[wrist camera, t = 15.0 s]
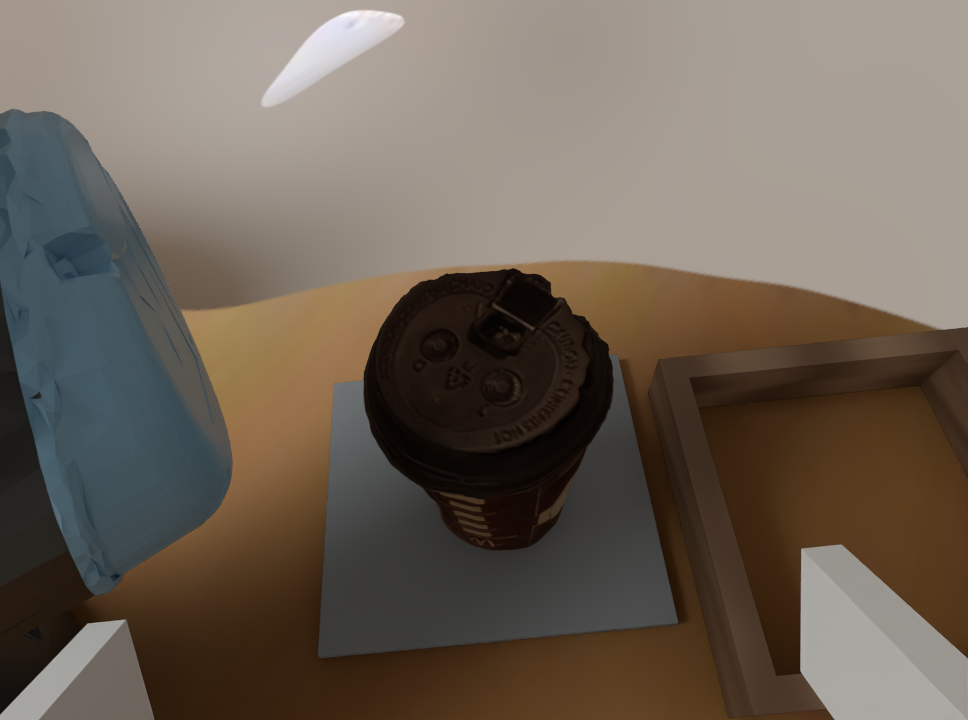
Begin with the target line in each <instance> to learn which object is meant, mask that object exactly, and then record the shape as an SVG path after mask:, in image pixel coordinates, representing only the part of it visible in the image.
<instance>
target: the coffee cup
mask: <svg viewBox="0 0 968 720" xmlns="http://www.w3.org/2000/svg"><path fill="white" fill-rule="evenodd" d="M608 351H609V348H608V344H607V343H606V342H604V341H603V340H602V339H600V338H599V335H598V333H597V332H596V331H595V330H594V329H593V328H592V327H591V326H590V324H589V321H586V318H585V317H583V316H577V315H573V314H572V311H571V309H570V307H569V306H568V304H567V302H566V300H565V299H564V298H561V297H559V298H555V297H553V296H552V295H551V283H550V282H549V281H547V280H546V279H545V278H544V277H542V276H541V275H538V274H524V273H522V272H520V271H519V270H517V269H514V268H513V269H509V270H506V269H503V270H499V271H489V272H476V273H455V274H447V273H446V274H445V275H444V276H441V277H439V278H438V279H436V280H427V281H422V282H420V283H419V284H417V285H416V286H414V287H413V288H411V289H410V291H409V292H408V293H407V294H406V295H404V296H403V297H402V298H401V299H400V300H399V302H398V303H397V304H396V305H395V306H394V308H393V310H392V311H391V313H390V314H389V316H388V317H387V319H386V320H385V322H384V323H383V325H382V327H381V328H380V331H379V333H378V336H377V339H376V340H375V342H374V344H373V346H372V349H371V352H370V354H369V358H368V361H367V364H366V368H365V371H364V388H363V397H364V406H365V412H366V415H367V418H368V420H369V425H370V430H371V433H372V435H373V437H374V438H375V440H376V442H377V444H378V446H379V447H380V449H381V450H382V452H383V453H384V455H385V456H386V458H387V460H388V461H389V463H390V464H391V465H392V466H393V467H394V468H396V469H397V470H398V471H399V472H400V473H402V474H403V475H404V476H405V477H407V478H408V479H409V480H411V481H412V482H414V483H416V484H417V485H419V486H420V487H422V488H423V489H424V491H425V492H426V494H427V495H428V496H429V497H430V498H432V499H433V500H434V501H435V502H436V505H437V507H438V509H439V511H440V514H441V519H442V521H443V523H444V524H445V525H446V526H447V528H448V529H449V530H450V531H451V532H452V533H453V534H455V535H456V536H457V537H459V538H460V539H462V540H463V541H465V542H467V543H469V544H471V545H473V546H476V547H479V548H483V549H487V550H491V551H514V550H519V549H524V548H528V547H530V546H532V545H534V544H535V543H537V542H538V541H539V540H540V539H541V538H542V537H544V535H545V534H546V533H547V532H548V531H549V530H550V529H551V528H552V527H553V526H554V525H555V524H556V522H557V520H558V518H559V516H560V513H561V511H562V507H563V503H564V501H565V499H566V497H567V494H568V491H569V488H570V486H571V483H572V480H573V477H574V475H575V473H576V472H577V470H578V468H579V466H580V464H581V462H582V460H583V457H584V454H585V452H586V449H587V447H588V445H589V444H590V443H591V442H592V441H593V439H594V437H595V435H596V434H597V433H598V431H599V430H600V428H601V425H602V424H603V422H604V421H605V420H606V417H607V413H608V411H609V409H611V403H612V396H613V383H614V378H613V373H612V372H613V366H612V361H611V359H610V357H609V353H608Z"/></svg>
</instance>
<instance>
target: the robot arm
mask: <svg viewBox="0 0 968 720" xmlns="http://www.w3.org/2000/svg"><path fill="white" fill-rule="evenodd" d="M232 464H233V462H232V452H231V445H230V440H229V436H228V432H227V428H226V424H225V421H224V418H223V414H222V411H221V408H220V405H219V402H218V400H217V397H216V394H215V392H214V389H213V386H212V384H211V381H210V379H209V376H208V374H207V371H206V369H205V366H204V364H203V361H202V359H201V356H200V354H199V351H198V349H197V346H196V344H195V342H194V340H193V337H192V335H191V333H190V330H189V328H188V326H187V323H186V321H185V319H184V317H183V315H182V312H181V310H180V308H179V306H178V304H177V302H176V300H175V297H174V295H173V293H172V291H171V289H170V287H169V285H168V283H167V280H166V278H165V276H164V274H163V272H162V270H161V268H160V266H159V264H158V262H157V260H156V258H155V256H154V255H153V252H152V250H151V249H150V246H149V244H148V243H147V241H146V239H145V236H144V235H143V233H142V231H141V229H140V227H139V225H138V223H137V222H136V220H135V218H134V216H133V214H132V212H131V211H130V209H129V207H128V205H127V203H126V202H125V200H124V198H123V196H122V194H121V193H120V191H119V189H118V188H117V186H116V184H115V183H114V181H113V180H112V178H111V176H110V175H109V173H108V172H107V171H106V170H105V169H104V168H103V167H102V166H101V164H100V162H99V161H98V159H97V158H96V156H95V155H94V153H93V152H92V150H91V148H90V145H89V143H88V141H87V140H86V139H85V137H84V136H83V135H82V133H80V131H79V130H78V129H77V128H76V127H75V126H74V125H73V124H72V123H71V122H69V121H68V120H66V119H64V118H63V117H61V116H60V115H58V114H55V113H53V112H46V111H42V112H32V113H25V112H23V111H20V110H16V109H11V110H9V111H6V112H4V113H1V114H0V720H154V716H153V713H152V709H151V705H150V702H149V698H148V695H147V691H146V688H145V684H144V681H143V677H142V673H141V670H140V666H139V663H138V659H137V656H136V652H135V649H134V645H133V641H132V638H131V634H130V631H129V627H128V624H127V620H116V621H107V622H97V623H88V624H87V625H86V626H85V627H84V628H83V629H82V630H81V631H80V632H79V630H78V627H77V625H76V623H75V620H74V618H73V617H72V615H71V613H70V611H69V609H71V608H72V607H74V606H76V605H78V604H80V603H81V602H83V601H85V600H87V599H89V598H90V597H92V596H94V595H99V594H103V595H104V594H106V593H108V592H110V591H111V590H113V589H114V588H115V587H116V586H117V585H118V584H119V583H120V582H121V580H122V578H123V575H124V573H126V572H128V571H129V570H131V569H132V568H134V567H136V566H137V565H139V564H140V563H142V562H144V561H145V560H147V559H148V558H150V557H152V556H153V555H155V554H156V553H158V552H160V551H161V550H163V549H164V548H166V547H168V546H169V545H171V544H172V543H174V542H176V541H177V540H179V539H180V538H182V537H184V536H185V535H187V534H188V533H190V532H192V531H193V530H195V529H196V528H198V527H200V526H201V525H202V524H203V523H204V522H205V521H206V520H207V519H208V518H209V517H210V516H212V515H213V514H214V513H215V511H216V510H217V509H218V508H219V506H220V505H221V503H222V501H223V499H224V497H225V495H226V493H227V491H228V488H229V485H230V481H231V477H232ZM800 671H801V673H802V674H803V676H804V677H805V679H806V680H807V681H808V683H809V684H810V686H811V687H812V688H813V690H814V691H815V693H816V694H817V696H818V697H819V698H820V700H821V701H822V703H823V704H824V705H825V707H826V708H827V710H828V711H829V713H830V714H831V715H832V717H833V718H834V720H968V658H966V657H965V656H964V655H963V654H962V653H961V652H960V651H959V650H958V649H956V648H955V647H954V646H953V645H952V644H951V643H950V642H949V641H948V640H947V639H945V638H944V637H943V636H942V635H941V634H940V633H939V632H938V631H937V630H935V629H934V628H933V627H932V626H931V625H930V624H929V623H928V622H927V621H926V620H924V619H923V618H922V617H921V616H920V615H919V614H918V613H917V612H916V611H915V610H913V609H912V608H911V607H910V606H909V605H908V604H907V603H906V602H905V601H903V600H902V599H901V598H900V597H899V596H898V595H897V594H896V593H895V592H894V591H892V590H891V589H890V588H889V587H888V586H887V585H886V584H885V583H884V582H882V581H881V580H880V579H879V578H878V577H877V576H876V575H875V574H874V573H873V572H871V571H870V570H869V569H868V568H867V567H866V566H865V565H864V564H863V563H861V562H860V561H859V560H858V559H857V558H856V557H855V556H854V555H853V554H852V553H850V552H849V551H848V550H847V549H846V548H845V547H844V546H843V545H842V544H841V545H831V546H822V547H812V548H803V549H801V655H800Z"/></svg>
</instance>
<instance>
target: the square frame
mask: <svg viewBox="0 0 968 720" xmlns="http://www.w3.org/2000/svg"><path fill="white" fill-rule="evenodd" d="M917 385H920V386H921V388H922V390H923V392H924V394H925V395H926V397H927V399H928V401H929V403H930V405H931V407H932V409H933V411H934V413H935V415H936V417H937V419H938V421H939V422H940V424H941V426H942V428H943V430H944V432H945V434H946V436H947V438H948V440H949V442H950V444H951V446H952V448H953V449H954V451H955V453H956V455H957V457H958V459H959V461H960V463H961V465H962V467H963V469H964V471H965V473H966V475H967V476H968V327H967V328H958V329H947V330H938V331H928V332H918V333H909V334H899V335H889V336H880V337H870V338H860V339H851V340H841V341H831V342H822V343H812V344H802V345H793V346H783V347H774V348H764V349H754V350H745V351H735V352H725V353H716V354H706V355H696V356H687V357H677V358H667V359H659V360H658V363H657V367H656V370H655V373H654V376H653V379H652V382H651V385H650V388H649V391H648V395H649V399H650V403H651V407H652V411H653V415H654V419H655V423H656V427H657V431H658V435H659V439H660V443H661V447H662V451H663V455H664V459H665V463H666V467H667V471H668V476H669V480H670V484H671V488H672V492H673V496H674V500H675V504H676V508H677V512H678V516H679V520H680V524H681V528H682V532H683V536H684V540H685V544H686V548H687V552H688V556H689V560H690V564H691V568H692V572H693V576H694V580H695V584H696V588H697V592H698V596H699V600H700V604H701V609H702V613H703V617H704V621H705V625H706V629H707V633H708V637H709V641H710V645H711V649H712V653H713V657H714V661H715V665H716V669H717V673H718V677H719V681H720V685H721V689H722V693H723V697H724V701H725V705H726V709H727V713H728V717H729V718H733V717H744V716H755V715H766V714H777V713H789V712H800V711H811V710H822V709H827V708H826V707H825V705H824V704H823V703H822V701H821V700H820V698H819V697H818V696H817V694H816V693H815V691H814V690H813V688H812V687H811V686H810V684H809V683H808V681H807V680H806V679H805V677H804V676H803V674H792V675H781V676H776V673H775V670H774V666H773V663H772V659H771V656H770V653H769V649H768V646H767V642H766V639H765V635H764V632H763V629H762V625H761V622H760V618H759V615H758V612H757V608H756V605H755V601H754V598H753V594H752V591H751V588H750V584H749V581H748V577H747V574H746V571H745V567H744V564H743V560H742V557H741V553H740V550H739V547H738V543H737V540H736V536H735V533H734V530H733V526H732V523H731V519H730V516H729V512H728V509H727V506H726V502H725V499H724V495H723V492H722V489H721V485H720V482H719V478H718V475H717V472H716V468H715V465H714V461H713V458H712V454H711V451H710V448H709V444H708V441H707V437H706V434H705V431H704V427H703V424H702V420H701V417H700V413H699V410H698V408H700V407H710V406H720V405H730V404H740V403H750V402H759V401H769V400H779V399H789V398H799V397H809V396H818V395H828V394H838V393H848V392H858V391H868V390H878V389H887V388H897V387H907V386H917Z"/></svg>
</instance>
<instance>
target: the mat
mask: <svg viewBox="0 0 968 720" xmlns="http://www.w3.org/2000/svg"><path fill="white" fill-rule="evenodd" d="M609 357H610V359H611V361H612V366H613V372H612V373H613V378H614V383H613V396H612V403H611V409H609V411H608V413H607V417H606V420H605V421H604V422H603V424H602V425H601V428H600V430H599V431H598V433H597V434H596V435H595V437H594V439H593V441H592V442H591V443H590V444H589V445H588V447H587V449H586V452H585V454H584V457H583V460H582V462H581V464H580V466H579V468H578V470H577V472H576V473H575V475H574V477H573V480H572V483H571V486H570V488H569V491H568V494H567V497H566V499H565V501H564V503H563V507H562V511H561V513H560V516H559V518H558V520H557V522H556V524H555V525H554V526H553V527H552V528H551V529H550V530H549V531H548V532H547V533H546V534H545V535H544V537H542V538H541V539H540V540H539V541H538V542H537V543H535V544H534V545H532V546H530V547H528V548H524V549H519V550H514V551H491V550H487V549H483V548H479V547H476V546H473V545H471V544H469V543H467V542H465V541H463V540H462V539H460V538H459V537H457V536H456V535H455V534H453V533H452V532H451V531H450V530H449V529H448V528H447V526H446V525H445V524H444V523H443V521H442V519H441V514H440V511H439V509H438V507H437V505H436V502H435V501H434V500H433V499H432V498H430V497H429V496H428V495H427V494H426V492H425V491H424V489H423V488H422V487H420V486H419V485H417V484H416V483H414V482H412V481H411V480H409V479H408V478H407V477H405V476H404V475H403V474H402V473H400V472H399V471H398V470H397V469H396V468H394V467H393V466H392V465H391V464H390V463H389V461H388V460H387V458H386V456H385V455H384V453H383V452H382V450H381V449H380V447H379V446H378V444H377V442H376V440H375V438H374V437H373V435H372V433H371V430H370V425H369V420H368V418H367V415H366V412H365V406H364V397H363V388H364V380H362V381H353V382H343V383H334V395H333V412H332V428H331V445H330V462H329V478H328V495H327V512H326V529H325V545H324V562H323V579H322V595H321V612H320V629H319V646H318V657H320V658H329V657H340V656H350V655H361V654H372V653H382V652H393V651H403V650H414V649H425V648H435V647H446V646H457V645H467V644H478V643H489V642H499V641H510V640H521V639H531V638H542V637H553V636H563V635H574V634H585V633H595V632H606V631H616V630H627V629H638V628H648V627H659V626H670V625H676V624H678V619H677V615H676V610H675V606H674V601H673V597H672V592H671V588H670V584H669V579H668V575H667V570H666V566H665V562H664V557H663V553H662V548H661V544H660V540H659V535H658V531H657V526H656V522H655V518H654V513H653V509H652V504H651V500H650V495H649V491H648V487H647V482H646V478H645V473H644V469H643V465H642V460H641V456H640V451H639V447H638V443H637V438H636V434H635V429H634V425H633V421H632V416H631V412H630V407H629V403H628V398H627V394H626V390H625V385H624V381H623V376H622V372H621V368H620V363H619V359H618V354H613V355H609Z"/></svg>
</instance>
